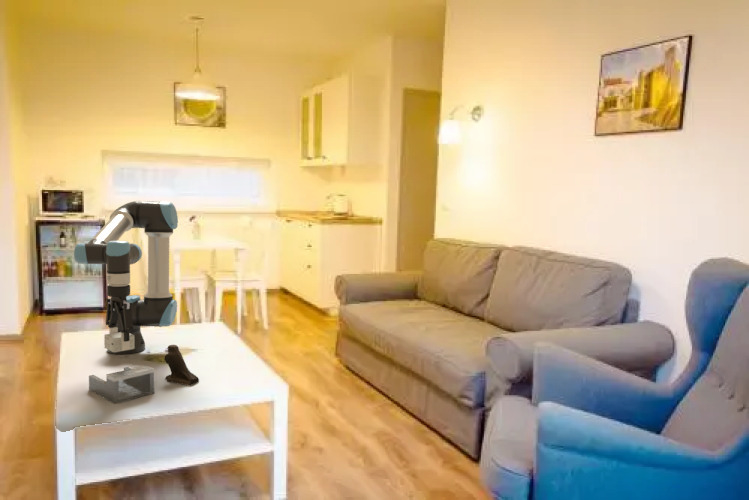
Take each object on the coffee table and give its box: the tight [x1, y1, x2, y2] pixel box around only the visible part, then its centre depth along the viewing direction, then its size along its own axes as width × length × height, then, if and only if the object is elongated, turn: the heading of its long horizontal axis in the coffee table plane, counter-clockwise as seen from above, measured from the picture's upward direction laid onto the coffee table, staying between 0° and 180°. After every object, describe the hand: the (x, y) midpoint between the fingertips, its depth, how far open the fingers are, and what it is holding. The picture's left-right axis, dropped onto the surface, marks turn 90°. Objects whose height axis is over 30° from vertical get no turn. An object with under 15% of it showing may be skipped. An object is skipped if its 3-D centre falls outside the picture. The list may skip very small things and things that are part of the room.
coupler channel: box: [88, 365, 155, 405], centre depth 202 cm, size 19×14×9 cm
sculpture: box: [163, 344, 200, 386], centre depth 214 cm, size 6×13×13 cm, turn 68°
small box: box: [103, 332, 134, 352], centre depth 206 cm, size 8×8×5 cm
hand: (119, 347), depth 206 cm, fingers closed on small box, 8 cm apart
